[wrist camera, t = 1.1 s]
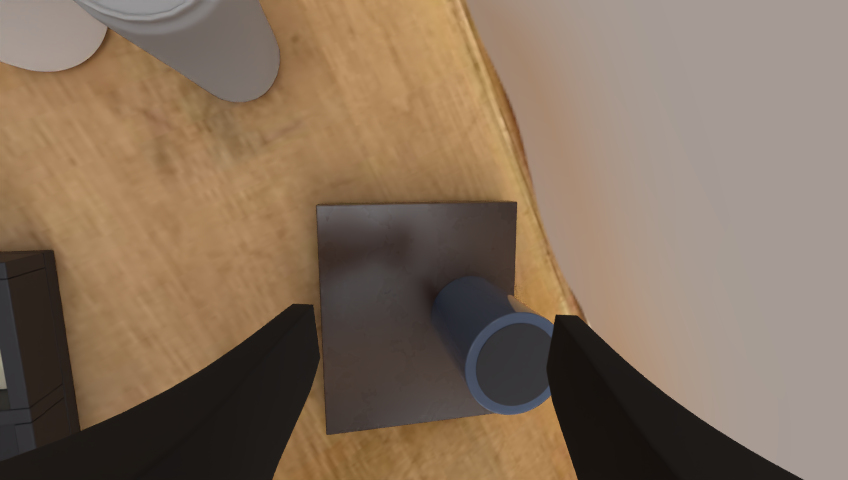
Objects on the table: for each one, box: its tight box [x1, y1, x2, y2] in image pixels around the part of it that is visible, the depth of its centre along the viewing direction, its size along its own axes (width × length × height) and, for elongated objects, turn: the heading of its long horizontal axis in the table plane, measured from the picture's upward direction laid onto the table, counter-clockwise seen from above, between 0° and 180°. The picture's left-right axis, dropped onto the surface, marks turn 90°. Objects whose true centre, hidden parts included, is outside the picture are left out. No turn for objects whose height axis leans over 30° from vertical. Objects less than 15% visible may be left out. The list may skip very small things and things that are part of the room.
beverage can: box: [73, 0, 280, 102], centre depth 16 cm, size 5×5×12 cm
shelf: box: [316, 201, 517, 435], centre depth 25 cm, size 14×12×2 cm
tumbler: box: [431, 276, 554, 415], centre depth 22 cm, size 5×5×7 cm
